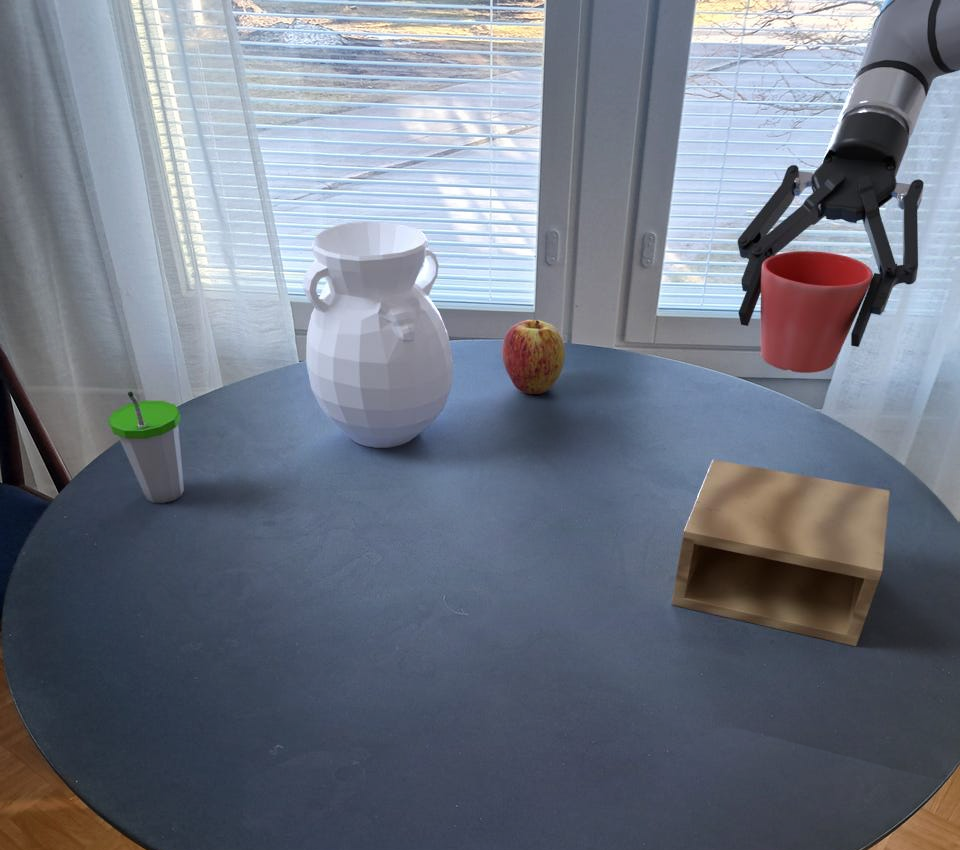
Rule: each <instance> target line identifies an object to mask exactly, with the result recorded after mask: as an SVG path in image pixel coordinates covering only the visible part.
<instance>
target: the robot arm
mask: <svg viewBox="0 0 960 850" xmlns="http://www.w3.org/2000/svg"><path fill="white" fill-rule="evenodd" d="M959 71H960V0H884V2H883V5H882V6H881V8H880V11H879V13H878V15H877V16H876V18H875V19H874V21H873V24H872V28H871V30H870V36H869V38H868V41H867V44H866V47H865V50H864V52H863V55H862V58H861V61H860V63H859V67H858V69H857V71H856V74H855V76H854V78H853V81H852V84H851V87H850V88H849V92H848V94H847V97H846V99H845V102H844V104H843V106H842V109H841V112H840V113H839V114H840V115H839V117H838V121H837V124H836V126H835V127H834V130H833V133H832V136H831V139H830V140H829V144H828V146H827V149H826V152H825V154H824V157H823V159H822V162H821V164H820V166H819V167H818V168H817V169H816V170H814V172H812V171H811V172H809V171H803V170H801V171H800V170H799V169H800V168H799V166H798V165H796V164H791V165H789V166H788V167H787V169H786V171H785V174H784V177H783V178H782V182H781V184H780V185H779V186H778V188H777V189H776V190H775V191H774V193H773V194H772V195H771V197H770V198H769V199H768V201H767V202H766V203H765V205H764V206H762V208H761V209H760V211H759V212H758V213H757V215H756V216H755V217H754V218H753V219H752V221H751V222H750V223H749V224H748V226H747V227H746V229H744V231H743V232H742V233H741V234H740V236H739V237H738V239H737V247H738V252H739V256H740V258H742V259H747V260H748V261H747V263H746V265H745V266H746V267H745V269H744V272H743V275H742V277H741V281H740V282H741V288H742V292H745V294H744V297H743V300H742V302H741V305H740V307H739V309H738V317H739V322H740V325H741V326H746V327H748V326H749V325H750V322H751V320H752V317H753V314H754V311H755V309H756V306H757V304H758V302H759V298H760V297H761V271H762V264H763V262H764V261H765V260H766V259H767V258H769V257H771V256H774V255H777V254H779V252H780V251H782V250H783V249H784V248H785V247H786V246H788V245H789V244H790V243H791V242H792V241H794V240H795V239H796V238H797V237H799V236H800V235H801V234H802V233H803V232H804V231H806V230H807V229H808V228H809V227H811V226H815V225H816V224H818V223H819V222H820V221H821V220H822V219H824V218H825V219H826V220H829V221H841V220H843V221H845V222H847V223H852V224H857V223H858V222H860V221H862V225H863V228H864V231H865V233H866V234H867V237H868V240H869V243H870V247H871V250H872V253H873V257H874V260H875V263H876V266H877V270H878V273H877V272H873V278H872V280H871V283H870V285H869V288H868V290H867V292H866V294H865V297H864V299H863V301H862V303H861V306H860V308H859V311H858V314H857V316H856V317H857V318H856V319H855V321H854V322H855V323H854V326H853V328H852V331H851V334H850V335H851V336H850V347H856V348H859V347H860V345H861V342H862V339H863V337H864V334H865V331H866V329H867V327H868V323H869V320H870V319H871V316H872V314H873V315H878V316H881V315H882V314H883V313H884V312H885V310H886V307H887V304H888V301H889V299H890V296H891V295H892V291H893V289H894V287H895V286H897V285H900V284H905V285H913V284H914V283H916V281H917V277H918V272H919V271H918V270H919V239H918V238H919V234H918V233H919V232H918V231H919V229H918V225H919V224H918V210H919V208H920V205H921V202H922V199H923V193H924V181H923V180H922V179H914V180H913V181H912V182H911V183H902V182H897V174H898V172H899V169H900V168H901V164H902V161H903V160H904V156H905V154H906V151H907V149H908V145H909V141H910V138H911V136H912V135H913V133H914V130H915V127H916V125H917V122H918V119H919V117H920V115H921V111H922V109H923V107H924V103H925V101H926V98H927V96H928V94H929V91H930V88H931V87H932V83H933V81H934V79H937V78H938V77H941V76H945V75H947V74H952V73H955V72H959ZM810 187H811V190H812V193H811V194H810V195H809V196H807V198H805V200H804V202H803V203H802V204H801V205H800V206H799V207H798V208H797V209H796V210H795V211H793V212H792V213H791V214H789V216H787V217H786V218H785V219H784V220H783V221H782V222H780V223H779V224H778V225H777V226H775V225H776V224H777V223H778V221H779V220H780V218H782V216H783V215H784V213H786V211H787V210H788V209H789V207H790V206H791V204H792V203H793V201H794V199H795V197H799V196H800V195H801V194H802V193H803V191H805V190H806V188H810ZM893 198H894V199H896V200H897V207H898V208H899V209H900V210H902V211H903V212H902V264H899V265H898V263H896V260H895V258H894V254H893V252H892V248H891V245H890V241H889V239H888V235H887V231H886V229H885V225H884V223H883V218H882V215H881V210H880V208H881V207H882V206H884V205H885V204H886V203H888V202H889V201H891V200H892V199H893ZM774 226H775V227H774ZM773 227H774V228H773Z"/></svg>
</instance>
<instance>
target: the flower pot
mask: <svg viewBox="0 0 960 850" xmlns="http://www.w3.org/2000/svg"><path fill="white" fill-rule="evenodd" d="M873 275H874V272H873V270H872V269H871V267H870V266H868V265H867V264H865V263H864V262H862V261H861V260H858V259H857V258H853V257H850V256H847V255H843V254H839V253H833V252H825V251H813V250H799V251H788V252H781V253H777V254H776V255H774V256H771V257H769V258H767V259H766V260H765V261H764V262H763V264H762V271H761V293H760V357H761V359H762V360H763V361H764V362H765V363H766V364H768V365H769V366H770V367H773V368H775V369H779V370H782V371H791V372H793V373H797V374H798V373H801V374H812V373H813V374H814V373H820V372H824V371H826V370H829V369H830V368H832V366H833V365H834V364H835V363H836V361H837V359H838V356H839V354H840V352H841V350H842V348H843V346H844V344H845V341H846V340H847V337H848V335H849V333H850V331H851V328H852V326H853V324H854V322H855V320H856V317H857V316H858V314H859V311H860V309H861V307H862V304H863V301H864V299H865V296H866V294H867V291H868V288H869V286H870V283H871V280H872V278H873Z"/></svg>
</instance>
